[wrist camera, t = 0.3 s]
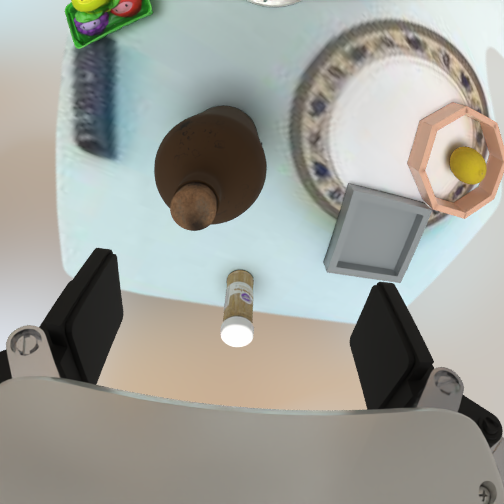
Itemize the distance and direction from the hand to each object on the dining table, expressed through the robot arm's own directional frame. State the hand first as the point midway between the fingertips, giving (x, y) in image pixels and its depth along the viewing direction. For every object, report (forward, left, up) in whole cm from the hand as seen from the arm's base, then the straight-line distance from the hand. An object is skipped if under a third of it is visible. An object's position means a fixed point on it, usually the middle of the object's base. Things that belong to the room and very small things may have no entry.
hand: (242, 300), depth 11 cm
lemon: (-4, +33, -36) cm, 49 cm away
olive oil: (+2, -3, -36) cm, 36 cm away
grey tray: (+12, +23, -36) cm, 44 cm away
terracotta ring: (-4, +33, -36) cm, 49 cm away
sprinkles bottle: (+25, +3, -36) cm, 44 cm away
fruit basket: (-16, -21, -36) cm, 45 cm away
